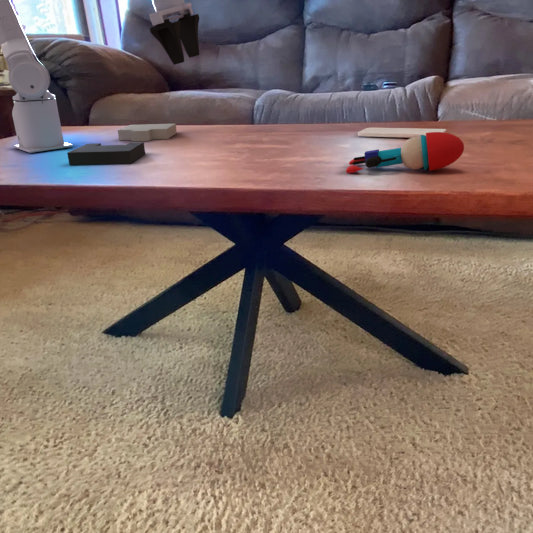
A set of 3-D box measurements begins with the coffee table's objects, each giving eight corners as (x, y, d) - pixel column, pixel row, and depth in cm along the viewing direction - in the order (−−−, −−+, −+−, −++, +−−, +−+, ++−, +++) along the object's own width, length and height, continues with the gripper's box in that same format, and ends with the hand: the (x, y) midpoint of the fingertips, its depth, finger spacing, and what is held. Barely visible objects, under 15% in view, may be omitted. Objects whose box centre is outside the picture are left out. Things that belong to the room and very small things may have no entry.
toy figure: (347, 186, 68) (467, 169, 63) (341, 148, 66) (464, 128, 62) (353, 177, 74) (462, 161, 70) (349, 143, 73) (460, 125, 68)
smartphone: (368, 127, 101) (447, 128, 94) (367, 131, 101) (446, 133, 95) (356, 132, 95) (440, 134, 88) (356, 137, 95) (439, 139, 89)
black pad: (88, 155, 88) (86, 143, 87) (145, 154, 87) (144, 142, 86) (69, 165, 80) (66, 152, 80) (131, 163, 80) (129, 150, 79)
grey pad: (131, 134, 110) (129, 124, 109) (176, 133, 109) (175, 123, 108) (115, 142, 101) (114, 131, 100) (165, 140, 100) (164, 130, 99)
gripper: (164, -22, 86) (190, 61, 92) (196, -26, 98) (218, 48, 104) (129, -10, 89) (157, 70, 95) (165, -15, 100) (187, 57, 106)
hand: (187, 59), depth 99 cm, fingers open, 7 cm apart
